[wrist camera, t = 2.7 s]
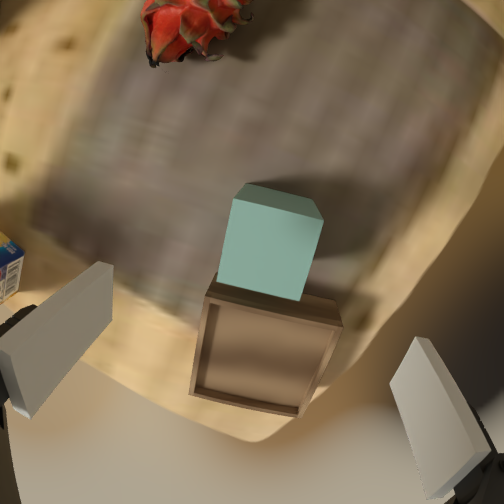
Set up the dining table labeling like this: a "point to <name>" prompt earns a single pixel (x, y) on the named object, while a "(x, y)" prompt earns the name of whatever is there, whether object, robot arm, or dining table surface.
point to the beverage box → (9, 267)
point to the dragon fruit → (188, 27)
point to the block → (270, 242)
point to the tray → (263, 349)
